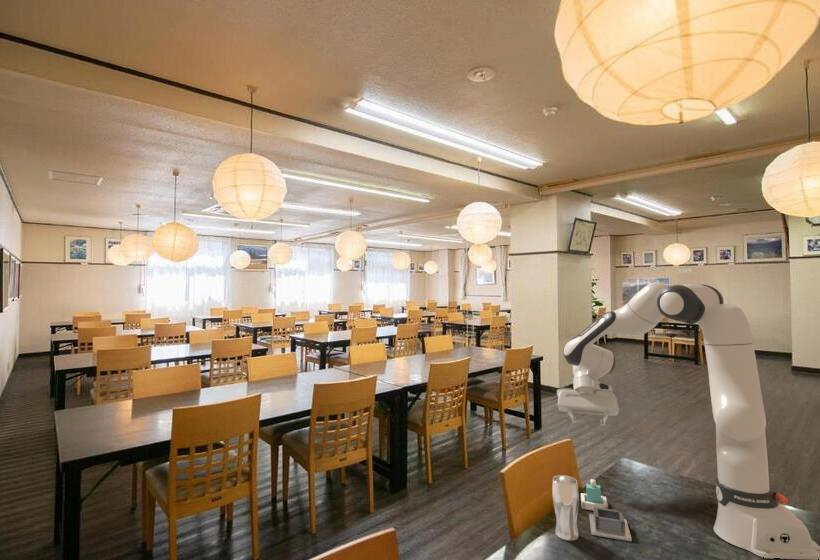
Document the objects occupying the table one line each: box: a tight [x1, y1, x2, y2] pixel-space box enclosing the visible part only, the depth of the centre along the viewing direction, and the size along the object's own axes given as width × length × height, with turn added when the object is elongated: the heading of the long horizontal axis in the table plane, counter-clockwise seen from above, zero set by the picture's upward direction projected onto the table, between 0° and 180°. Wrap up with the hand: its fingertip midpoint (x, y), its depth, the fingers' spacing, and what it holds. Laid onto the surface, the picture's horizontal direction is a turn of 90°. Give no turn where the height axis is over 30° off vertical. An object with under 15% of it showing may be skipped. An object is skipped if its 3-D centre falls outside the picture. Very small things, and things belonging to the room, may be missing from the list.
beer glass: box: [551, 474, 580, 542], centre depth 115 cm, size 7×7×15 cm
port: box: [588, 507, 632, 543], centre depth 117 cm, size 10×10×4 cm
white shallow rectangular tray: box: [580, 492, 609, 512], centre depth 130 cm, size 8×6×2 cm
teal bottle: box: [585, 478, 602, 504], centre depth 130 cm, size 4×3×8 cm
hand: (588, 423), depth 143 cm, fingers open, 8 cm apart
